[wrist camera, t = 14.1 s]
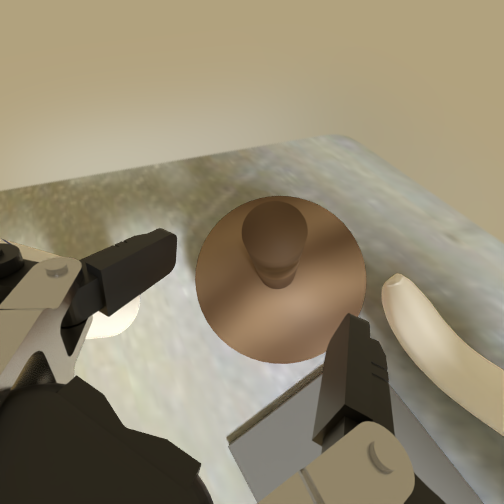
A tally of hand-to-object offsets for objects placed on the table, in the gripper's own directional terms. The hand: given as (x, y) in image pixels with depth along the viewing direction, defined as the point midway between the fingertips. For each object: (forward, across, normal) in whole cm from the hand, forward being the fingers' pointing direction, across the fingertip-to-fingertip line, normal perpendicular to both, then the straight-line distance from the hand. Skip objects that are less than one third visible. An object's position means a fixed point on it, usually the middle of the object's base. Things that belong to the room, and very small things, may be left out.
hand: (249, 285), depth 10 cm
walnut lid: (+9, 0, +5) cm, 10 cm away
